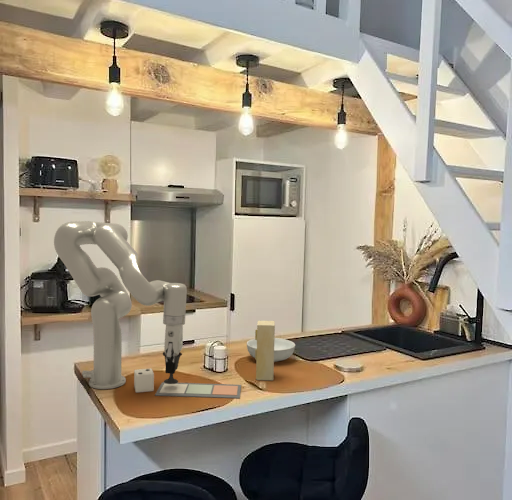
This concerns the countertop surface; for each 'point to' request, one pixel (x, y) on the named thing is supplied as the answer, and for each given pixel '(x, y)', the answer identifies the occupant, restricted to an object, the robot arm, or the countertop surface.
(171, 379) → the sundae
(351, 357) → the countertop surface
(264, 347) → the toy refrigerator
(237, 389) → the game board
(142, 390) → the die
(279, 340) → the serving bowl
